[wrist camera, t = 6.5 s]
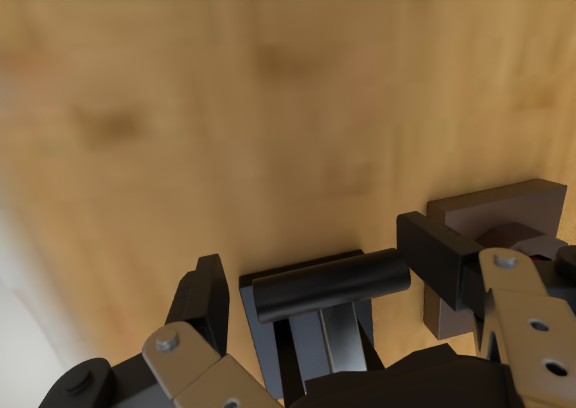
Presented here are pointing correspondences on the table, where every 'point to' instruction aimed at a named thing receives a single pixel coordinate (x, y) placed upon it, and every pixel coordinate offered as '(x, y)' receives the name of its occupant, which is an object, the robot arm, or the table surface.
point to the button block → (497, 235)
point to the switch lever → (333, 299)
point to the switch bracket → (299, 339)
